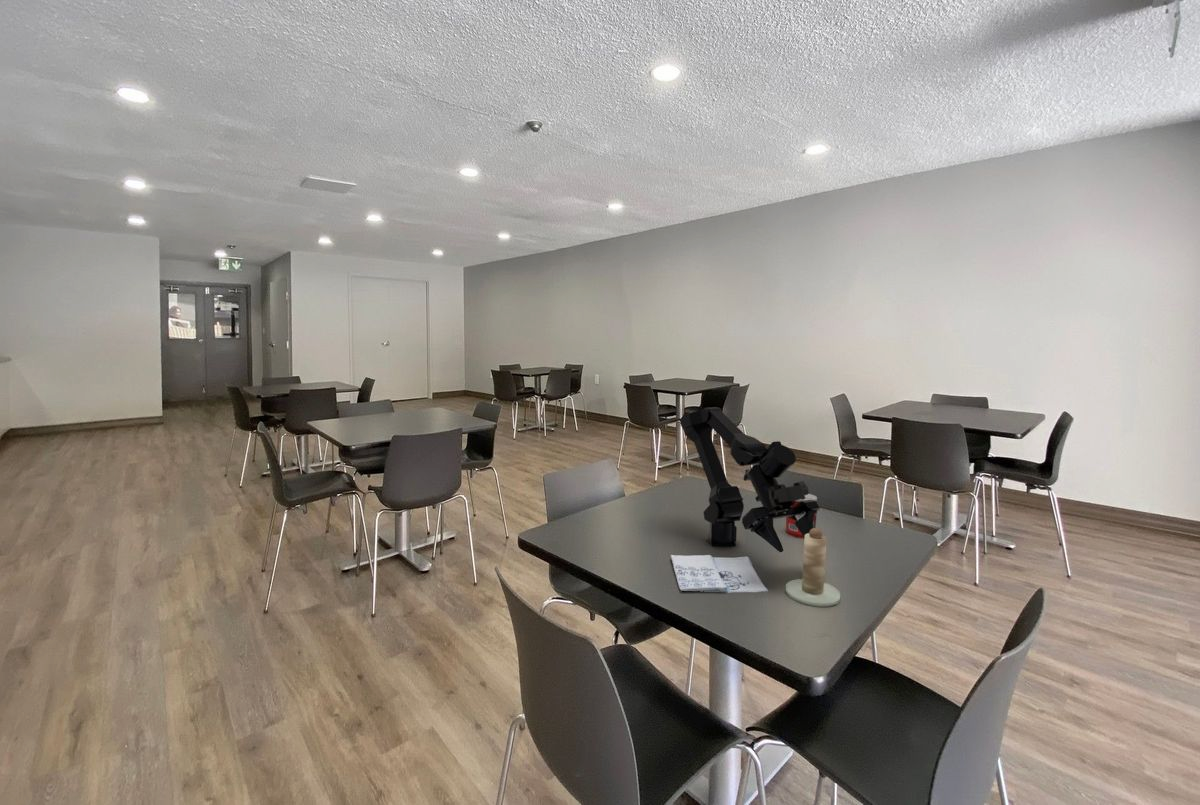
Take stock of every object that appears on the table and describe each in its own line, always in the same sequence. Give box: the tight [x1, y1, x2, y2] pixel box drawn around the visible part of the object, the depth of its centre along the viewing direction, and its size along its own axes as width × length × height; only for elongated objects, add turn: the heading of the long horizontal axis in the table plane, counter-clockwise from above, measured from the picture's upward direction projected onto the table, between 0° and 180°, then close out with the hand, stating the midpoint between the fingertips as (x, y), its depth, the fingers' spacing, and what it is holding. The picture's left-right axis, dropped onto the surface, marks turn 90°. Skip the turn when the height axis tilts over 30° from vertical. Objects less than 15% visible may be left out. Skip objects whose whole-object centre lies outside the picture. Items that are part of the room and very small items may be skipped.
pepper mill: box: [801, 527, 828, 595], centre depth 117 cm, size 4×4×14 cm
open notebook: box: [670, 554, 769, 594], centre depth 127 cm, size 19×20×2 cm
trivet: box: [785, 578, 841, 608], centre depth 117 cm, size 11×11×1 cm
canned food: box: [785, 493, 818, 539], centre depth 154 cm, size 8×8×11 cm
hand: (798, 548), depth 121 cm, fingers open, 9 cm apart
